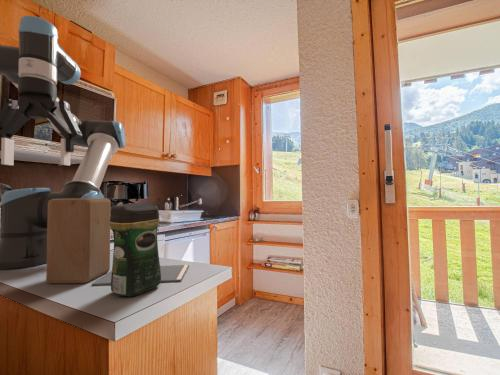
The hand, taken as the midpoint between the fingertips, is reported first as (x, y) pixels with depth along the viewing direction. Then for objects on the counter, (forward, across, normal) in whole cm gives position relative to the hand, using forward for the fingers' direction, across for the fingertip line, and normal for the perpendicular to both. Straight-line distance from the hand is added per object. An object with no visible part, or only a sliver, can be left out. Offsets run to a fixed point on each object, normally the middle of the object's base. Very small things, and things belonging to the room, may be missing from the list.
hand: (36, 165), depth 62 cm
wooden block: (+29, +11, 0) cm, 31 cm away
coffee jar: (+28, +28, -11) cm, 41 cm away
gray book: (+29, +27, -1) cm, 39 cm away
